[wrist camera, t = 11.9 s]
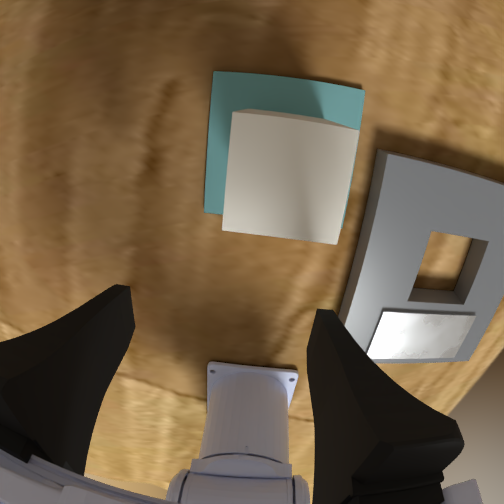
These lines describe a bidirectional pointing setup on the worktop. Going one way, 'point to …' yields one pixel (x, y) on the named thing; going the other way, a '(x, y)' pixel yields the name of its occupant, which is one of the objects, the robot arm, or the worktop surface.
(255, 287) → the worktop surface
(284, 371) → the robot arm
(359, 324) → the grey slotted board
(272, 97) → the mat
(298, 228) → the plug
